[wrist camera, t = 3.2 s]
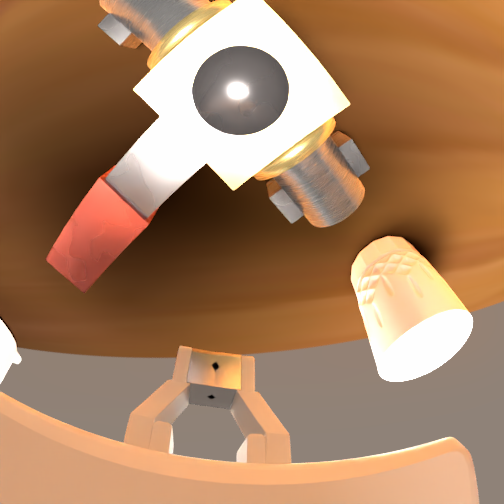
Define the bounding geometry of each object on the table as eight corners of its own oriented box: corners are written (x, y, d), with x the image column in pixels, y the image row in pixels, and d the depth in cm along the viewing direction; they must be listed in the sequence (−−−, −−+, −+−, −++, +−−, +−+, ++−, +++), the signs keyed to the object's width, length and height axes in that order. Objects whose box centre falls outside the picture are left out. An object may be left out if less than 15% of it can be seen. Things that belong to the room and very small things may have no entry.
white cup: (432, 252, 24) (485, 325, 16) (381, 307, 28) (415, 386, 19) (382, 213, 22) (444, 295, 13) (326, 280, 25) (356, 374, 17)
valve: (360, 161, 20) (414, 209, 13) (289, 212, 22) (309, 280, 15) (182, -36, 11) (148, -86, 4) (110, 27, 13) (42, 13, 6)
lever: (246, 35, 8) (246, 27, 7) (300, 95, 10) (309, 97, 8) (56, 240, 13) (42, 257, 12) (98, 276, 14) (87, 295, 13)
